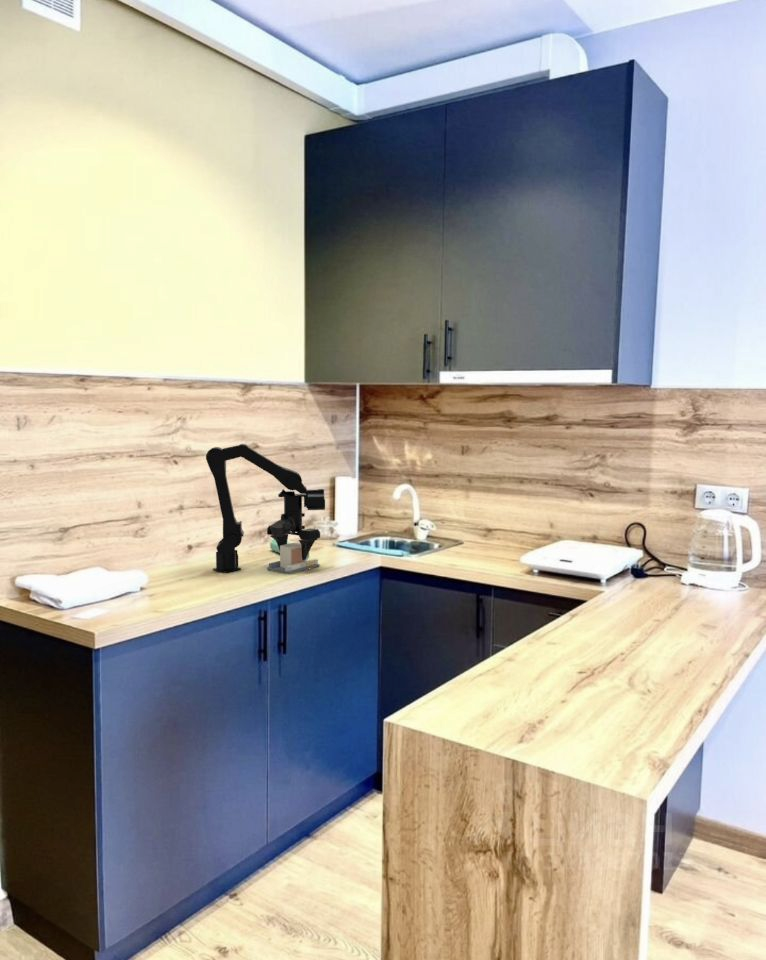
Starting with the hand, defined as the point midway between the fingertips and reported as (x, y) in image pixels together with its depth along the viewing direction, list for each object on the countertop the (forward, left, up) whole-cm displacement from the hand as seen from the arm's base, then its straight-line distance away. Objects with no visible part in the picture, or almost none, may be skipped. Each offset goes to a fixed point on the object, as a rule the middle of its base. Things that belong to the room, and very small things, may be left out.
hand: (293, 558), depth 244 cm
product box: (0, 0, -2) cm, 3 cm away
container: (+14, +16, -4) cm, 21 cm away
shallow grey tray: (0, 0, -3) cm, 3 cm away
